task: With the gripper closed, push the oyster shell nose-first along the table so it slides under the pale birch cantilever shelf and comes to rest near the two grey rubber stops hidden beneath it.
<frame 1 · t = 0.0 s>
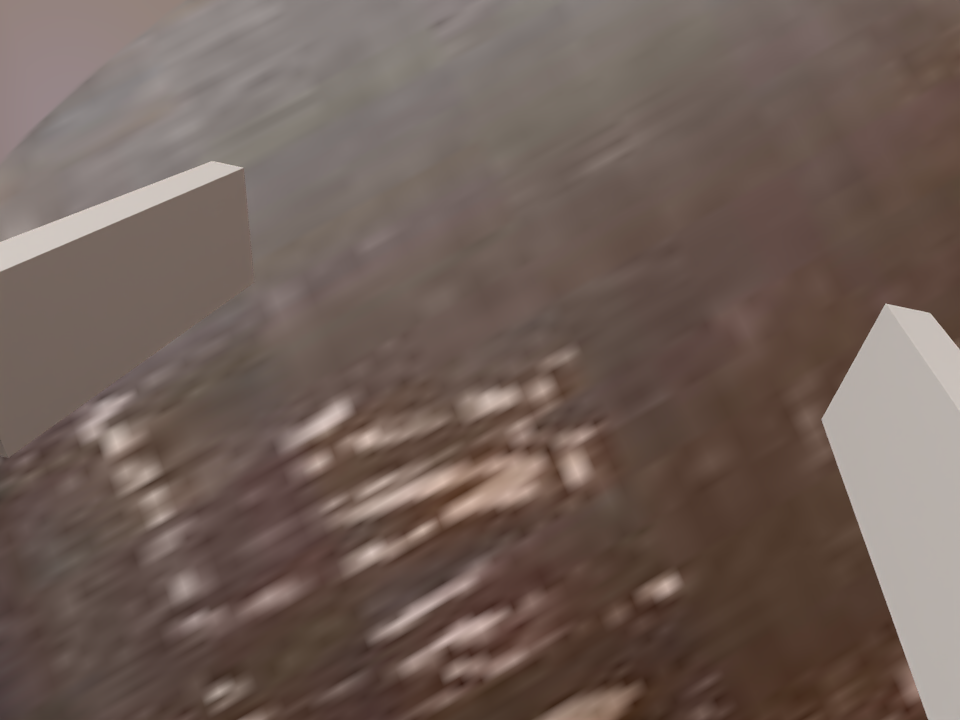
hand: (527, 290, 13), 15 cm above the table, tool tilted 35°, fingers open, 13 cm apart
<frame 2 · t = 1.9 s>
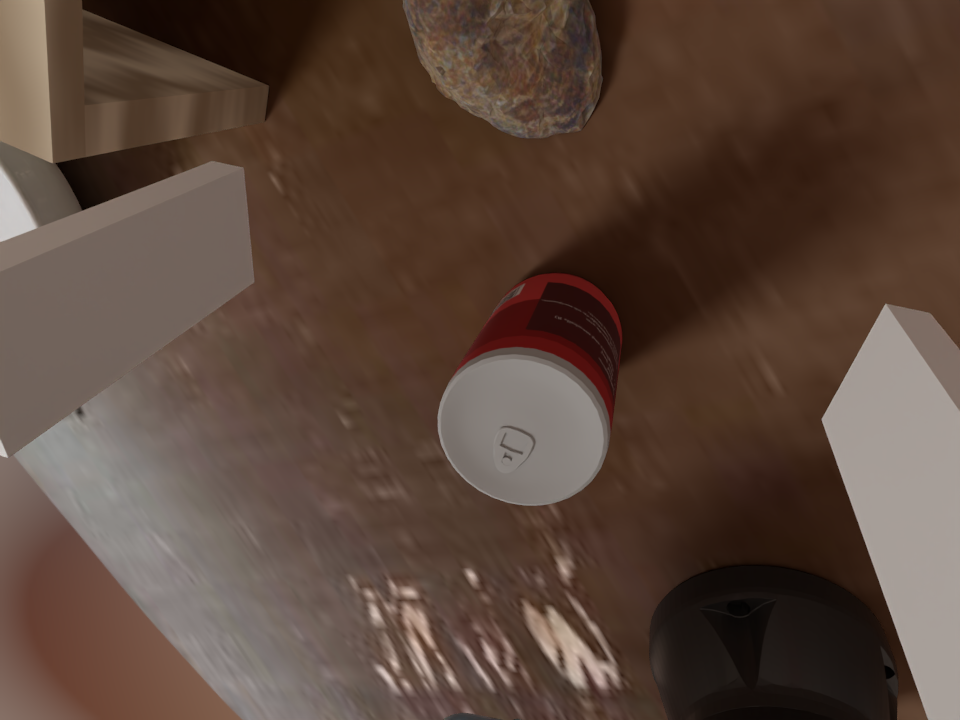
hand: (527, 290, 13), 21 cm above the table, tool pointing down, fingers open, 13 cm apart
oyster shell: (519, 8, 29), on the table
serving bowl: (15, 212, 43), on the table
canned food: (557, 331, 36), on the table
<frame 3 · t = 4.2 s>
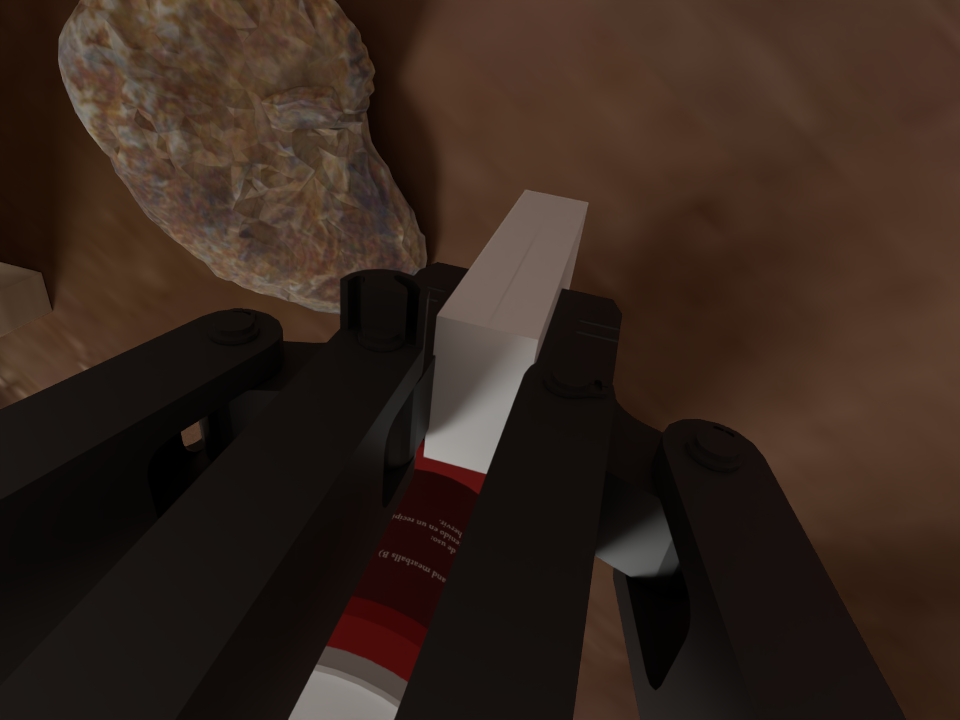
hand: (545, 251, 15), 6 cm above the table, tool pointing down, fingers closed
oyster shell: (306, 156, 22), on the table
canned food: (446, 500, 28), on the table
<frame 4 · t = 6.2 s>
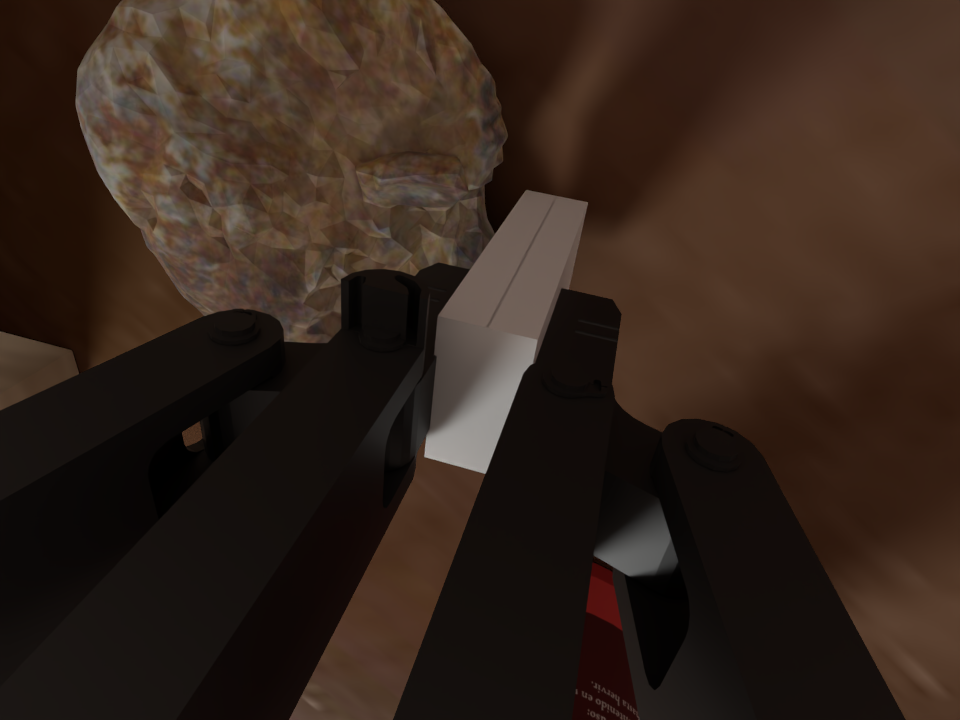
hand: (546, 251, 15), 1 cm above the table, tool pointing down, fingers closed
oyster shell: (386, 218, 17), on the table, touching gripper
canned food: (561, 614, 24), on the table
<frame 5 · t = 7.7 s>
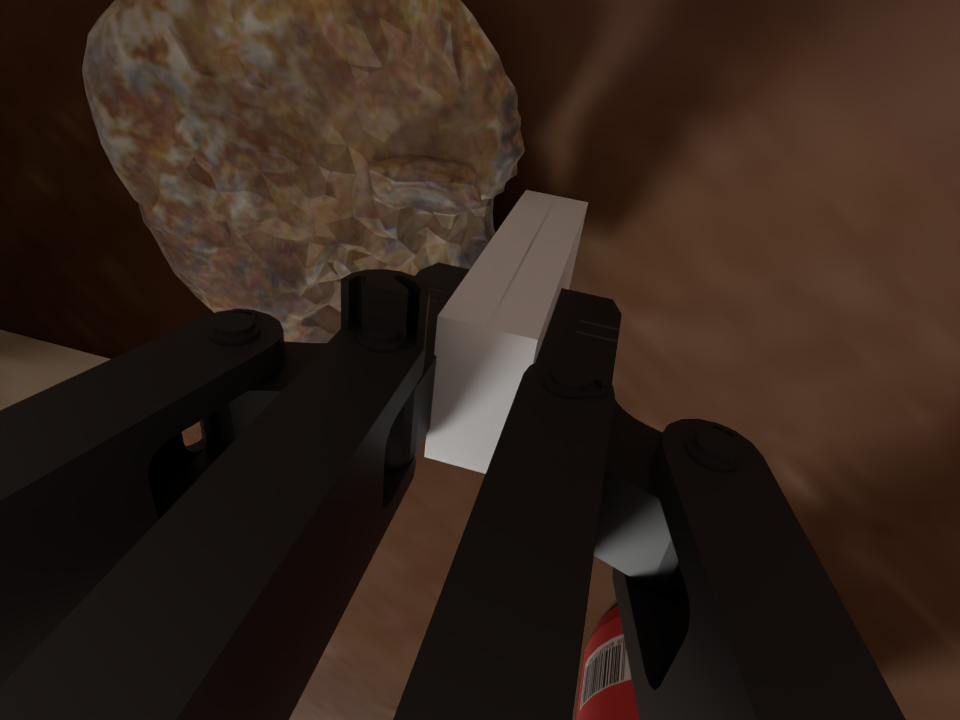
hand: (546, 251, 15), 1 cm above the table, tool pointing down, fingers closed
oyster shell: (388, 212, 17), on the table, touching gripper
canned food: (688, 652, 23), on the table
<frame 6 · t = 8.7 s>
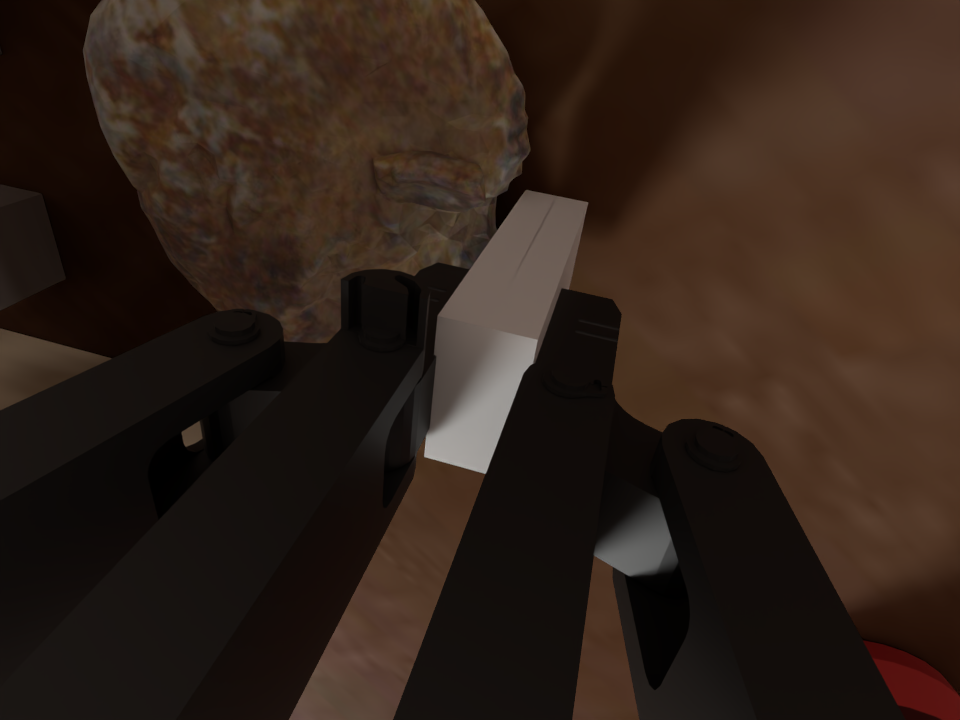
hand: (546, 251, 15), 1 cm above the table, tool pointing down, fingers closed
oyster shell: (389, 207, 17), on the table
canned food: (835, 696, 22), on the table
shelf: (74, 170, 19), on the table
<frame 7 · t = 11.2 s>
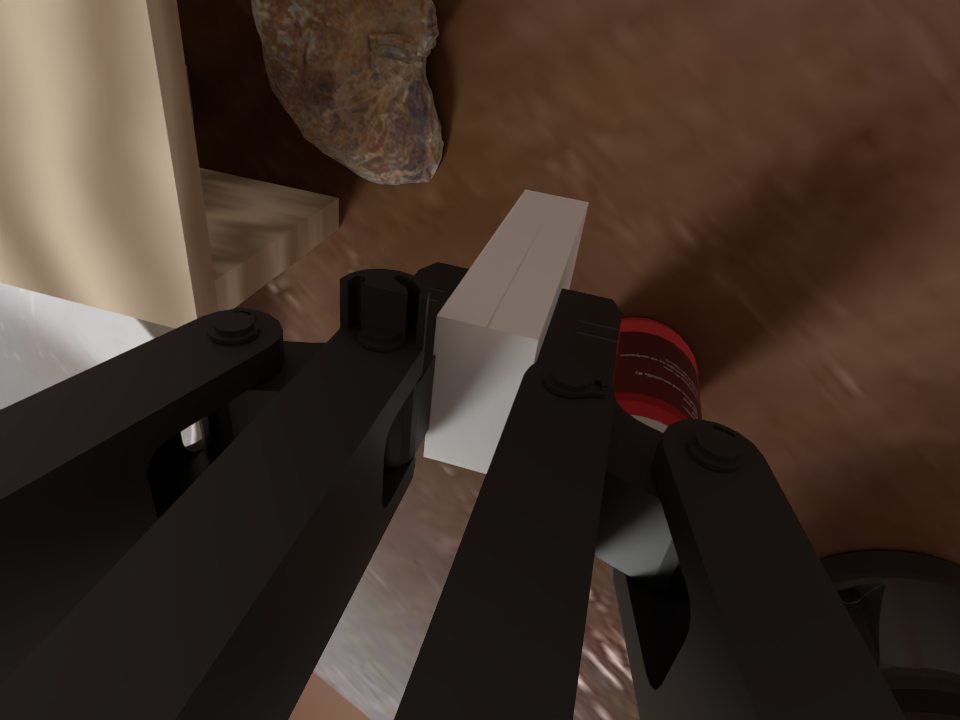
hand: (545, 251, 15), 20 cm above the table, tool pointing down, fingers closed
oyster shell: (376, 72, 33), on the table
serving bowl: (133, 333, 48), on the table
canned food: (633, 367, 38), on the table
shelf: (208, 50, 35), on the table
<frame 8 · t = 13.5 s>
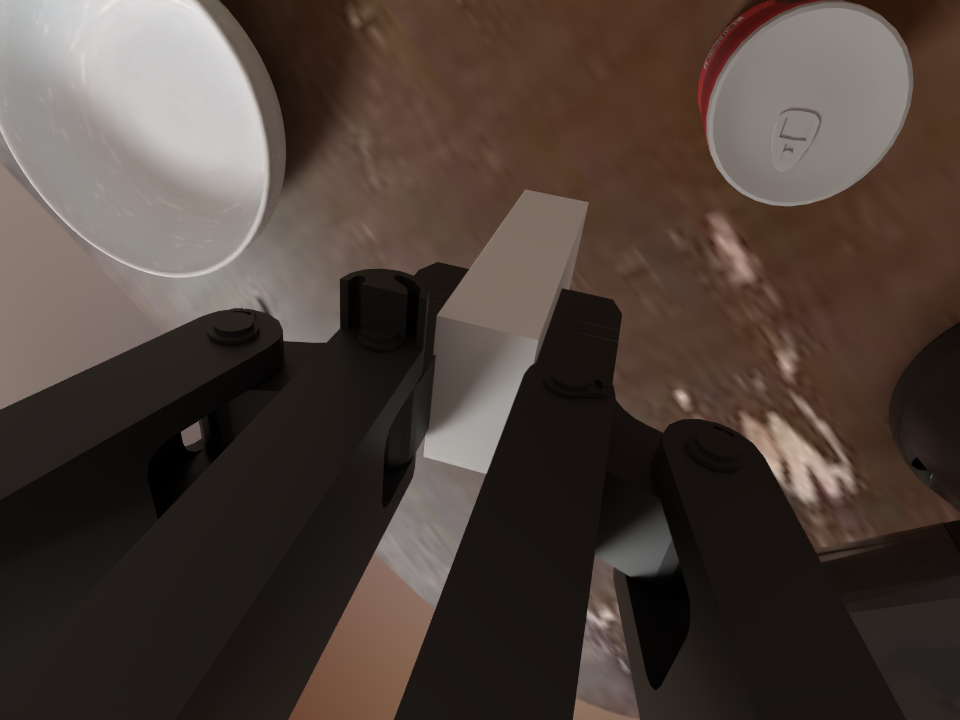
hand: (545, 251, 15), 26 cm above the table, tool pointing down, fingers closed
serving bowl: (191, 109, 44), on the table
canned food: (768, 78, 34), on the table
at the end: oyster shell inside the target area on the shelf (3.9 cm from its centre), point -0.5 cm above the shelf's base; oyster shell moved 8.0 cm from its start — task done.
